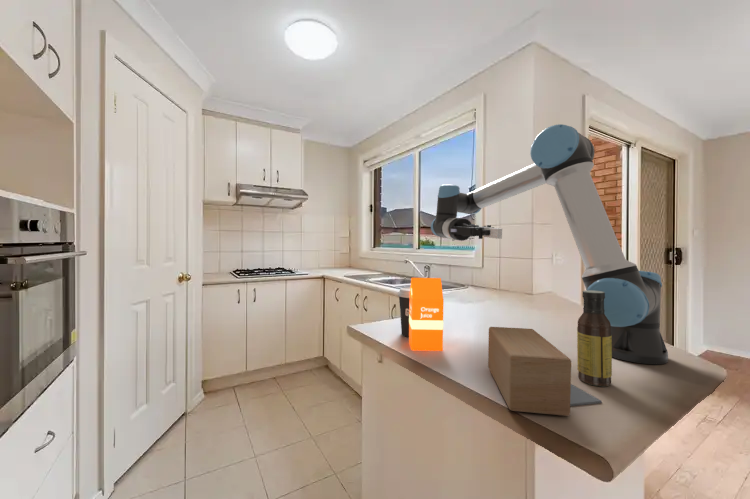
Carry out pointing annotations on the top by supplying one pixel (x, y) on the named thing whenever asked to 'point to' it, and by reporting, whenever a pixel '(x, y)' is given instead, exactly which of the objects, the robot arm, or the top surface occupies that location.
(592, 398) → the mat
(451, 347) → the top surface
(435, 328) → the orange juice
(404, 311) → the coffee cup
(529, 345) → the wooden block
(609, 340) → the sauce bottle
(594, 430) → the top surface
